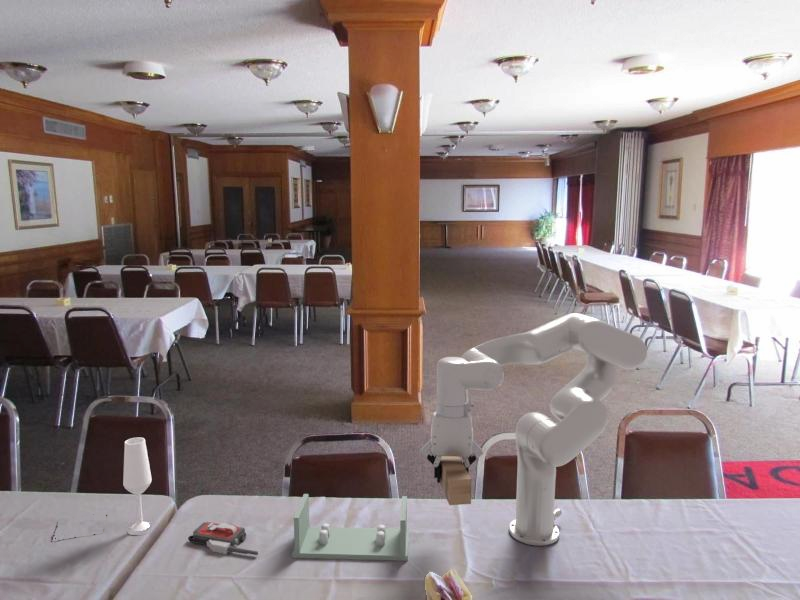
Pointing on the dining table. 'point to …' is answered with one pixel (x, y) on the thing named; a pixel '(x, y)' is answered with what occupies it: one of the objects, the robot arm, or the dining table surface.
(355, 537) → the shelf rack
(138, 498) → the champagne flute
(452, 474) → the wooden block
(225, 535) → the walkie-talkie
